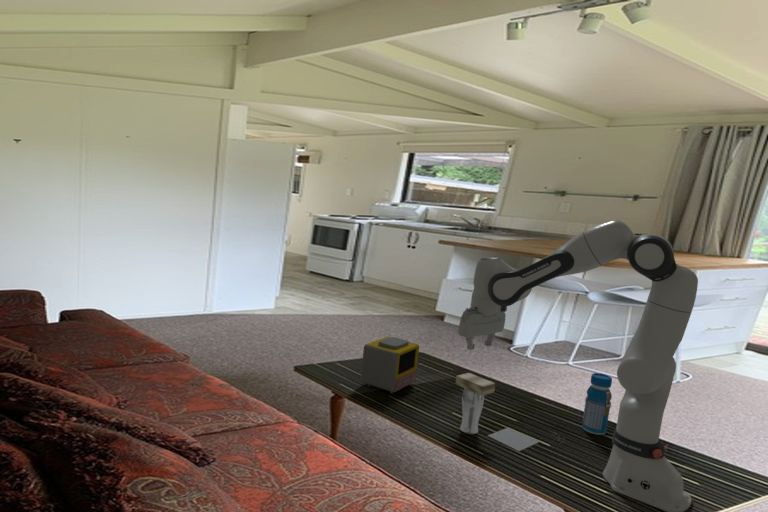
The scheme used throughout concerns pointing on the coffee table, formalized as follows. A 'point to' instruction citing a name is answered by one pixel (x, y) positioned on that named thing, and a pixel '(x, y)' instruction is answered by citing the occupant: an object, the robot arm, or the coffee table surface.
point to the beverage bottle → (597, 404)
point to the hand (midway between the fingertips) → (479, 347)
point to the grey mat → (513, 439)
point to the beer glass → (471, 411)
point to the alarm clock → (389, 363)
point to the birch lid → (475, 384)
